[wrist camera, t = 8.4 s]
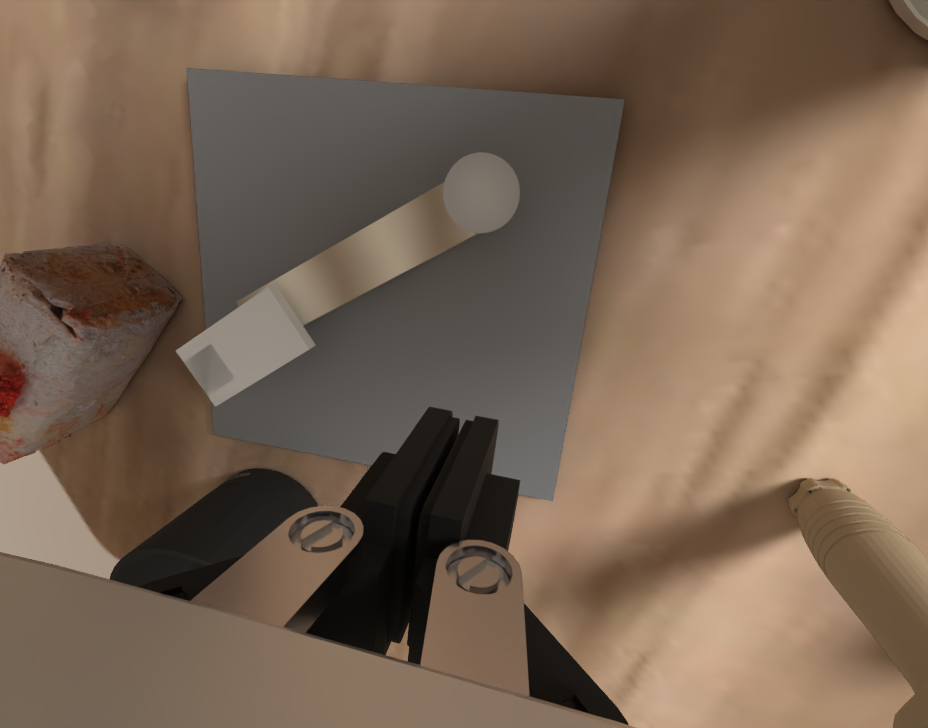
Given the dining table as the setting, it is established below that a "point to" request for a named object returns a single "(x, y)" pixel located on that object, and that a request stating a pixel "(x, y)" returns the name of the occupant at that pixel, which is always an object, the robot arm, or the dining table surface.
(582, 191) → the board
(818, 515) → the handle
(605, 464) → the dining table surface
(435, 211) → the link
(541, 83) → the dining table surface
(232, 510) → the pen holder
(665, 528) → the dining table surface
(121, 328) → the food item
